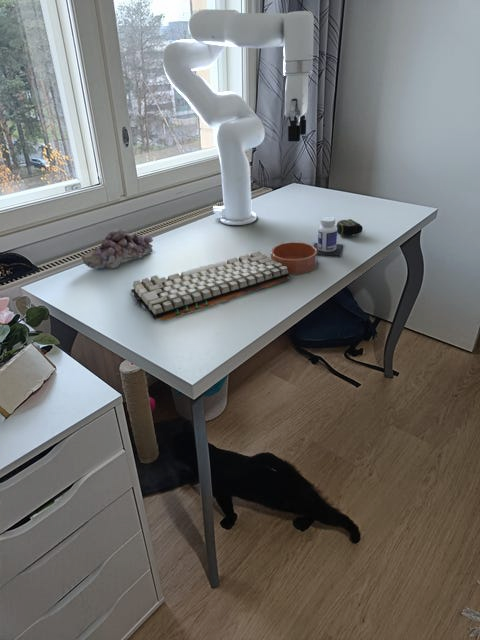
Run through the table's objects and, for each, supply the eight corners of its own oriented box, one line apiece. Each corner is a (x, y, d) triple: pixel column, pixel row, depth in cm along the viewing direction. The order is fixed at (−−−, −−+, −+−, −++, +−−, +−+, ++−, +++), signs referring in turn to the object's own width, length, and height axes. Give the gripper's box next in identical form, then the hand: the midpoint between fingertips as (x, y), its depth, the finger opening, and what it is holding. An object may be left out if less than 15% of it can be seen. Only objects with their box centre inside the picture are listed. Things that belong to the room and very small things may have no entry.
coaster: (310, 254, 127) (310, 253, 126) (314, 244, 133) (314, 242, 133) (339, 256, 125) (339, 255, 124) (342, 245, 131) (342, 244, 131)
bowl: (267, 272, 119) (266, 258, 117) (276, 254, 128) (276, 241, 126) (312, 275, 116) (313, 261, 113) (319, 256, 125) (319, 243, 123)
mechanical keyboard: (254, 255, 128) (254, 244, 126) (294, 279, 114) (294, 267, 112) (128, 293, 113) (125, 281, 111) (155, 327, 99) (152, 314, 97)
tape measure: (363, 236, 136) (364, 224, 134) (342, 239, 135) (343, 227, 133) (351, 228, 142) (352, 217, 140) (331, 232, 140) (332, 220, 138)
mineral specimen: (131, 228, 137) (138, 210, 129) (153, 253, 138) (162, 237, 129) (77, 262, 126) (81, 245, 118) (101, 289, 127) (107, 273, 118)
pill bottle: (338, 246, 130) (340, 216, 125) (333, 253, 126) (335, 222, 121) (320, 244, 132) (321, 214, 127) (315, 251, 128) (316, 221, 123)
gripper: (290, 67, 126) (290, 132, 135) (276, 71, 112) (277, 144, 121) (317, 65, 124) (315, 132, 133) (307, 70, 110) (305, 144, 119)
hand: (297, 137), depth 127 cm, fingers open, 9 cm apart
